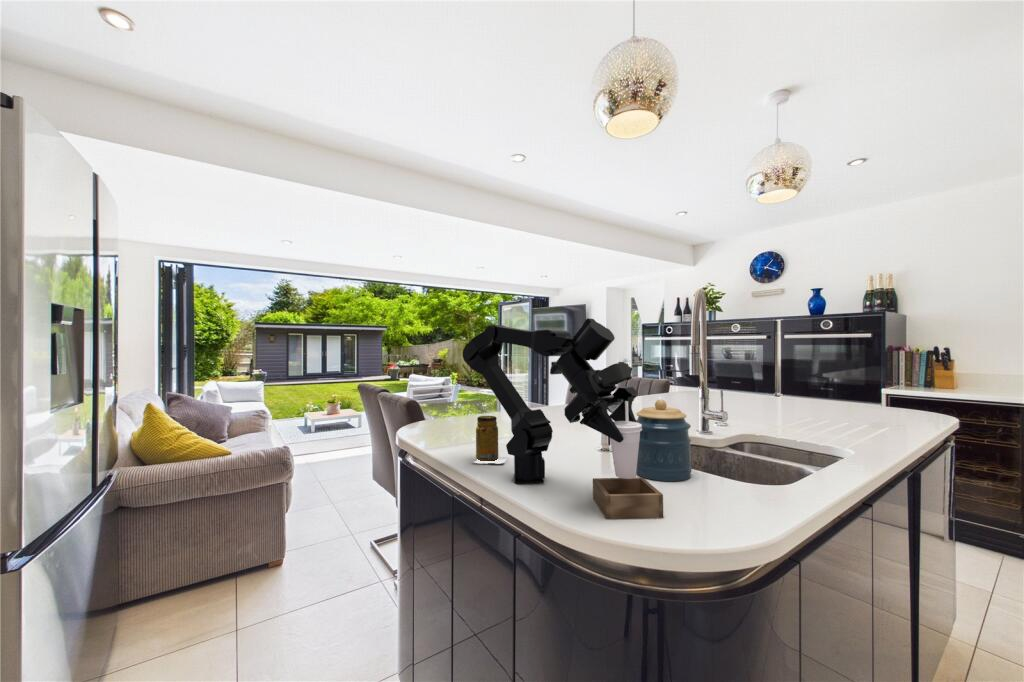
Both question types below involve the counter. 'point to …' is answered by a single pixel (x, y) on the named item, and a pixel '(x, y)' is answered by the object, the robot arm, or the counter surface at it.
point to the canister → (663, 444)
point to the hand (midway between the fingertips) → (630, 438)
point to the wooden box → (627, 498)
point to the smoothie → (626, 447)
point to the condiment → (487, 438)
